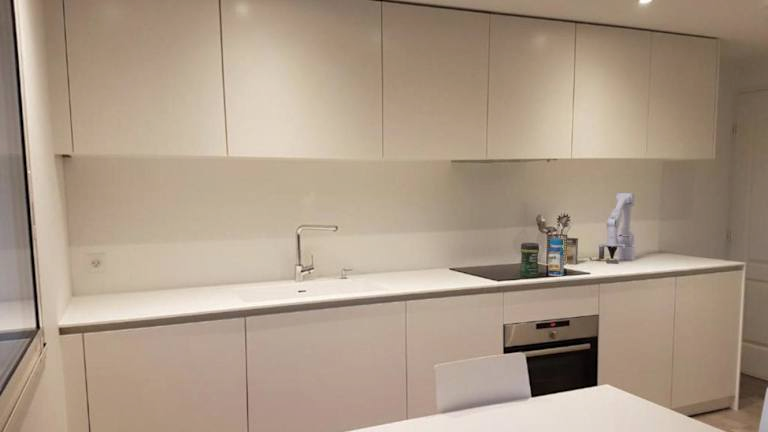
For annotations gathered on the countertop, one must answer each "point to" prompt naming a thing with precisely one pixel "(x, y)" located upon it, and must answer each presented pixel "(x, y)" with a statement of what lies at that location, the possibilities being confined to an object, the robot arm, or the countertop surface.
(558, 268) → the blue labeled canister
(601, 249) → the marker
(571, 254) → the coffee box
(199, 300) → the countertop surface
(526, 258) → the coffee jar
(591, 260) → the board
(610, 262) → the button housing
